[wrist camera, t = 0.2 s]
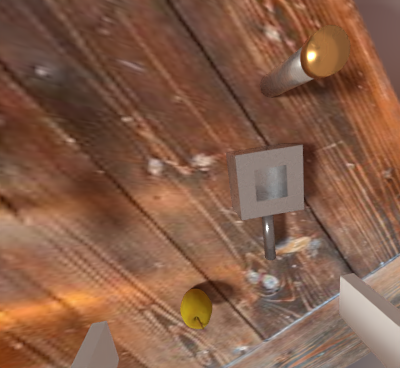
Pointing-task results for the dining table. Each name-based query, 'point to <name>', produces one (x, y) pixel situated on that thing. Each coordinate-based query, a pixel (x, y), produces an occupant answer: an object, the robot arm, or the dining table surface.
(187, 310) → the apple
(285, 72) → the grey gold cylinder
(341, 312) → the robot arm
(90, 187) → the dining table surface
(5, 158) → the dining table surface
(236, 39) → the dining table surface
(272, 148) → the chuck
